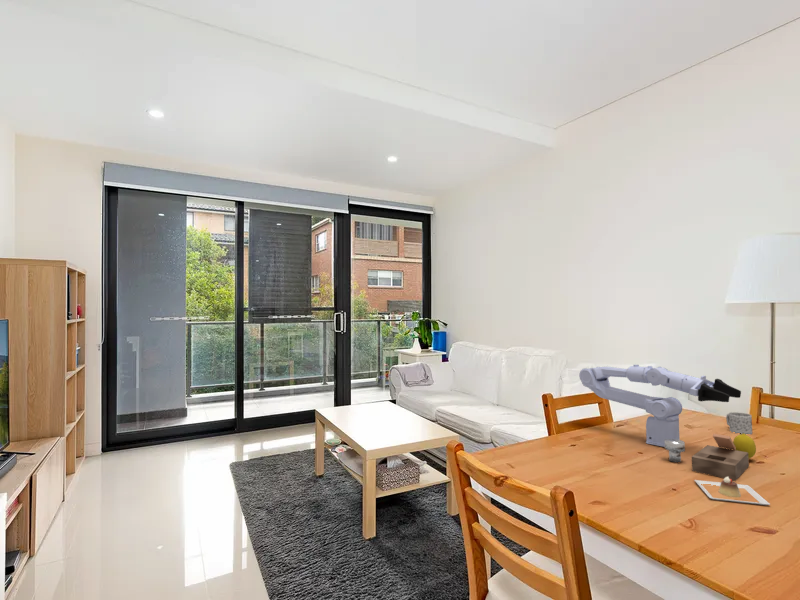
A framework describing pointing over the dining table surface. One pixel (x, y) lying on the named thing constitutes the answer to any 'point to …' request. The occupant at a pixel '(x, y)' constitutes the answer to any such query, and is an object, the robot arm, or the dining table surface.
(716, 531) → the dining table surface
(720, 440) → the bar
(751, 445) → the lemon
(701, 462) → the socket block
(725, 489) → the dessert
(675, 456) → the silver knob
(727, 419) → the mug
